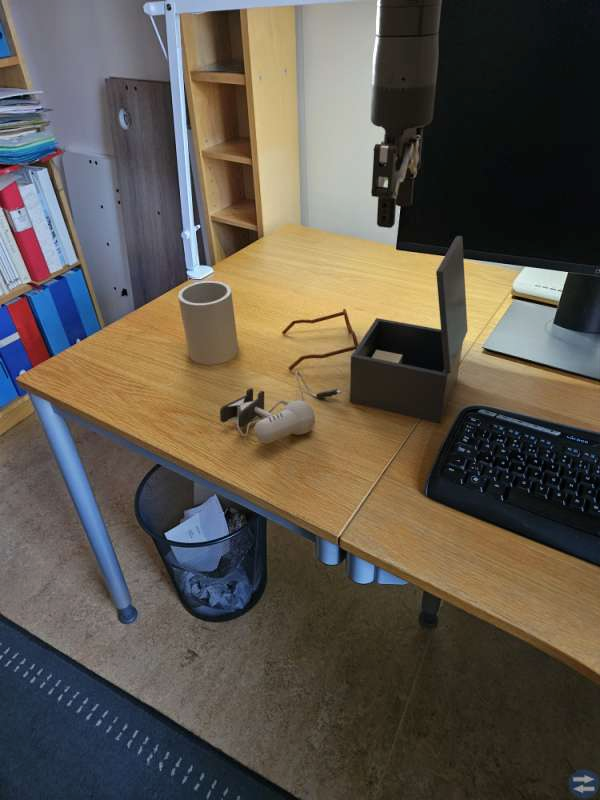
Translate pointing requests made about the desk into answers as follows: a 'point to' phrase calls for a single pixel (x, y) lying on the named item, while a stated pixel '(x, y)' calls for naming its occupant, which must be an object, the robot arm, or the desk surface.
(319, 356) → the glasses
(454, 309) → the box lid
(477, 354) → the desk surface
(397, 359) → the block
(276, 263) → the desk surface
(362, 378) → the box
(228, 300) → the cup
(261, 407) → the clip-on lamp
